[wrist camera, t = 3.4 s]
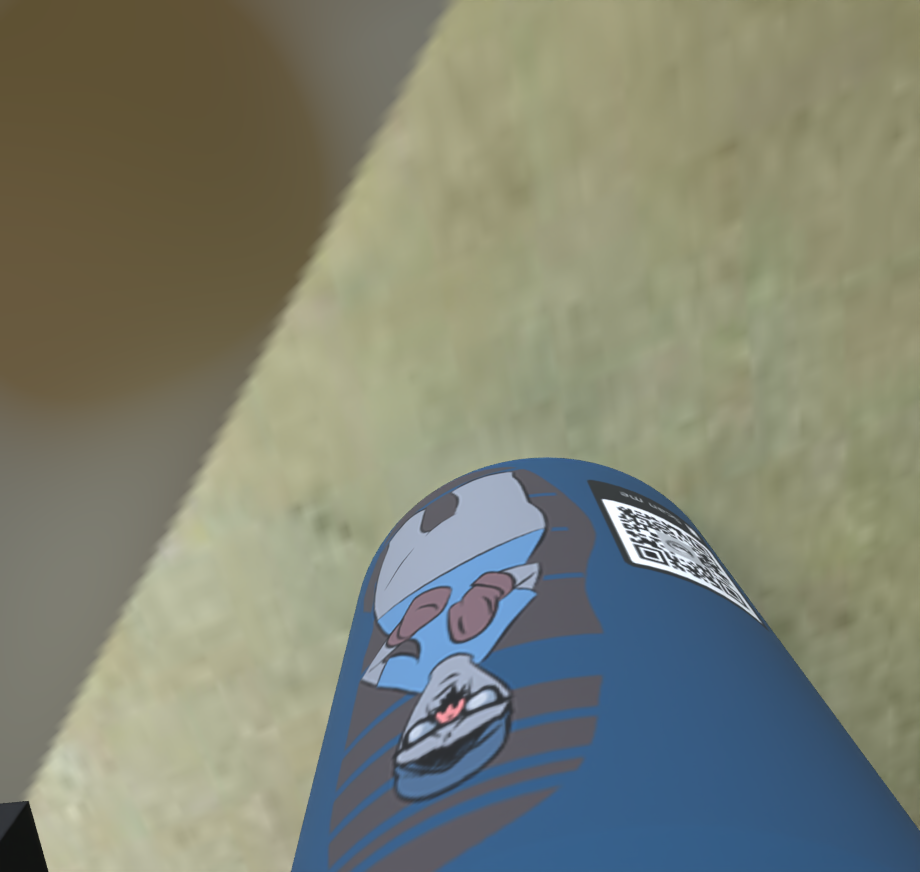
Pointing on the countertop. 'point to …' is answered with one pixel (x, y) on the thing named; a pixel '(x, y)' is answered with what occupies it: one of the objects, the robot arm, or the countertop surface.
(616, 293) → the countertop surface
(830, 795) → the soda can
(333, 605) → the countertop surface
